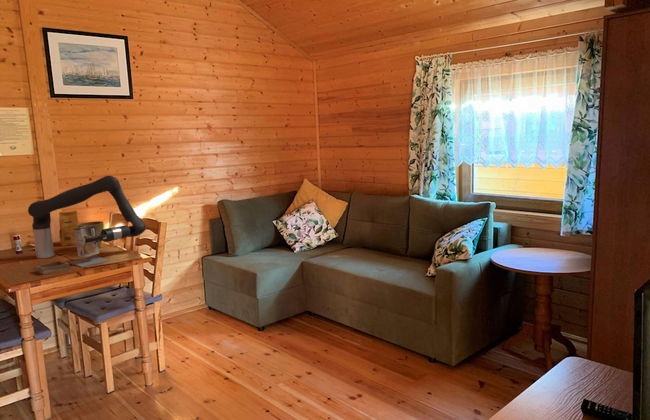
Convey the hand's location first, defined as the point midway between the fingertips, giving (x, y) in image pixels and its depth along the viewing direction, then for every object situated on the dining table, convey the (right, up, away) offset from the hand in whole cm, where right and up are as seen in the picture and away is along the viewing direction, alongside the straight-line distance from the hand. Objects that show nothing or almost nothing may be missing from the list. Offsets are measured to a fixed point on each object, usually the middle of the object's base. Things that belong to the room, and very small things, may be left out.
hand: (82, 240), depth 272 cm
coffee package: (-33, -6, +53) cm, 63 cm away
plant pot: (-12, -8, +38) cm, 40 cm away
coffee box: (+2, -9, +3) cm, 9 cm away
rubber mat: (+2, -13, +4) cm, 13 cm away
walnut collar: (-10, -15, -11) cm, 21 cm away
